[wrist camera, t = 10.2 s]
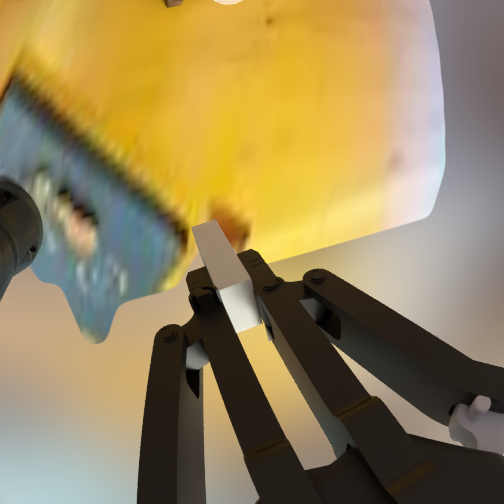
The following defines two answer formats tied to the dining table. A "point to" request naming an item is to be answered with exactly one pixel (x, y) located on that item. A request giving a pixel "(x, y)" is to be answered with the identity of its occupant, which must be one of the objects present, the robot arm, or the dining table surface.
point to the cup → (227, 1)
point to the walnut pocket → (173, 3)
